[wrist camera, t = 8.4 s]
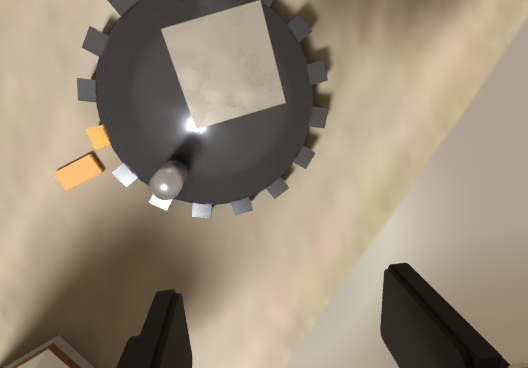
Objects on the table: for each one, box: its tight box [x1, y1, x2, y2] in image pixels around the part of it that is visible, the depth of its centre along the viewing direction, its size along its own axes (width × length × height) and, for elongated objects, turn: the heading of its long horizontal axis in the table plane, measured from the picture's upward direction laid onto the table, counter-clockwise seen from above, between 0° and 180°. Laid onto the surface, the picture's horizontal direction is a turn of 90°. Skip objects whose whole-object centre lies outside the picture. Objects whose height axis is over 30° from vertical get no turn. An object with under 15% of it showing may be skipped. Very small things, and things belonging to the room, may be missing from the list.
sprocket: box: [77, 0, 328, 218], centre depth 25 cm, size 22×22×6 cm
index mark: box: [53, 153, 104, 191], centre depth 29 cm, size 4×2×1 cm, turn 116°
